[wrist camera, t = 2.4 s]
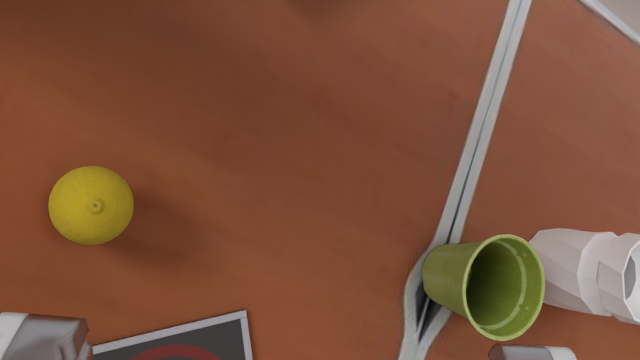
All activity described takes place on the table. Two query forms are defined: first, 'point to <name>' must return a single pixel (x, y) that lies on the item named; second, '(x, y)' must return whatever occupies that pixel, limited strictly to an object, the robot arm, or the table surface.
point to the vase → (591, 271)
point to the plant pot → (488, 284)
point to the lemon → (91, 205)
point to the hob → (185, 341)
